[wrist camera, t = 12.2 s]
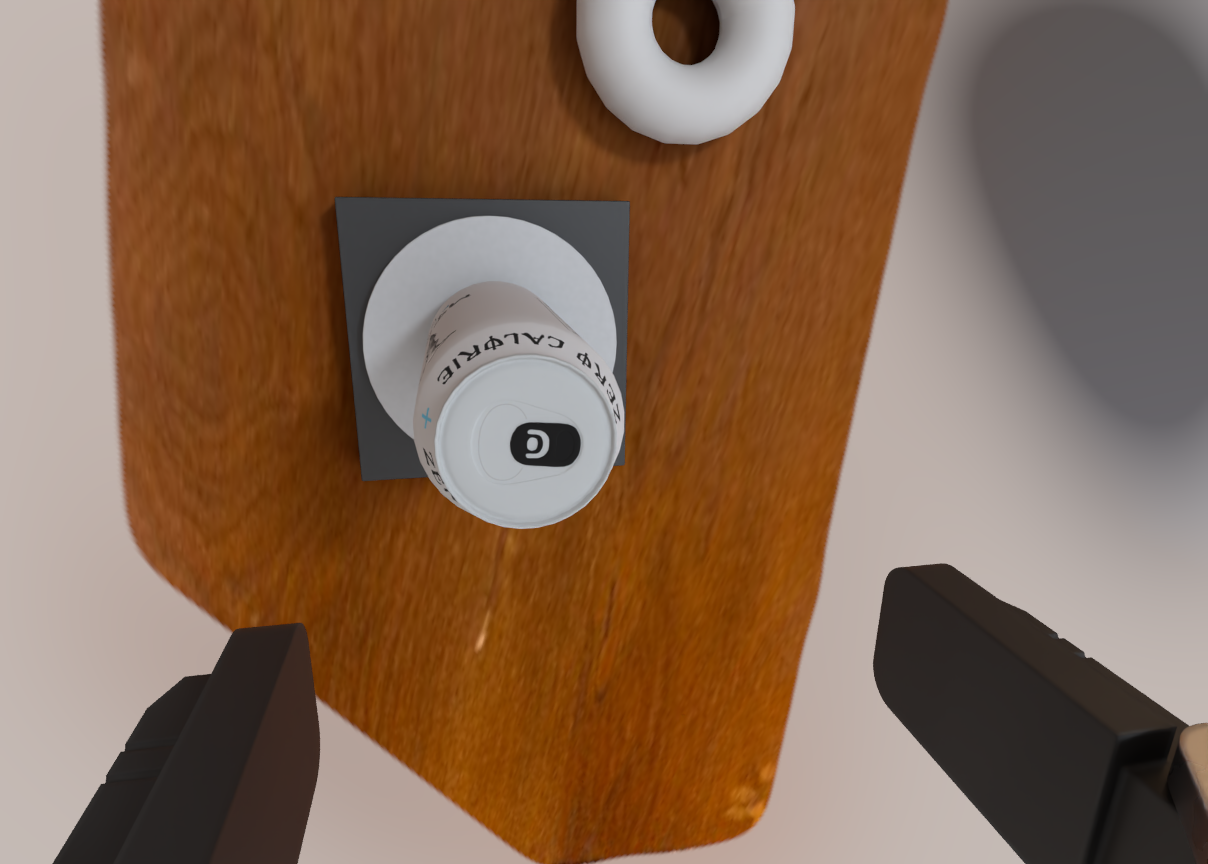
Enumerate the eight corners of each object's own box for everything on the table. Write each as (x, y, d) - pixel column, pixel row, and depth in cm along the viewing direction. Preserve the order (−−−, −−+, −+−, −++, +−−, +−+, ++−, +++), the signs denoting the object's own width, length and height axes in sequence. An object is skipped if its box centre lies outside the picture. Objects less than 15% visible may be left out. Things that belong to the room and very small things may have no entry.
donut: (530, -32, 31) (627, 185, 34) (538, -62, 28) (644, 181, 31) (728, -131, 32) (804, 92, 35) (759, -173, 28) (840, 78, 32)
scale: (341, 197, 32) (331, 196, 29) (620, 201, 35) (634, 200, 32) (366, 469, 36) (360, 489, 33) (616, 454, 38) (628, 472, 36)
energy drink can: (430, 272, 31) (413, 321, 17) (565, 285, 32) (652, 340, 18) (425, 404, 33) (405, 547, 19) (553, 411, 34) (625, 550, 20)
